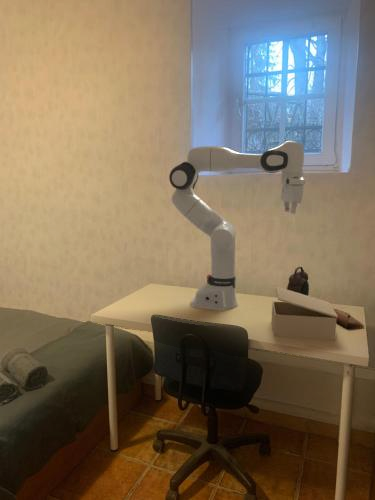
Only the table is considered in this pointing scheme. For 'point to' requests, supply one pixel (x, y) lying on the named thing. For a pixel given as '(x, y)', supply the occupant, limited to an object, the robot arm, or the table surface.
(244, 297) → the table surface
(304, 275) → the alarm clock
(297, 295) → the carton flap
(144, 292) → the table surface
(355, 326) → the sunglasses case
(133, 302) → the table surface
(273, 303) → the carton
